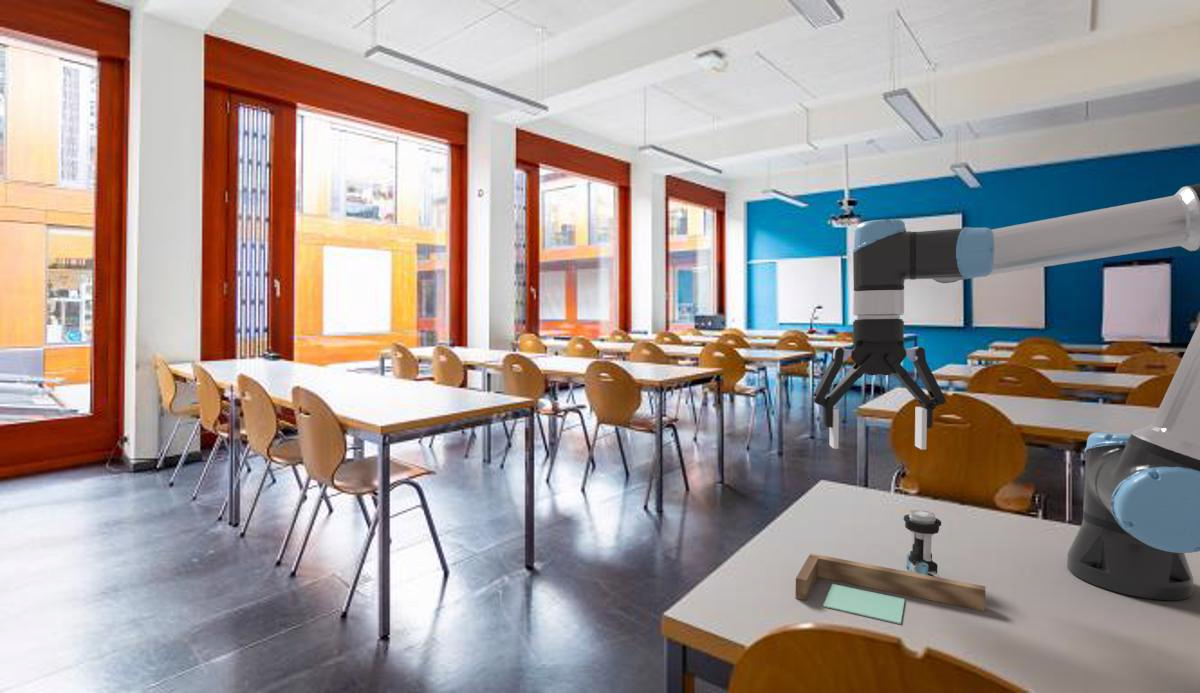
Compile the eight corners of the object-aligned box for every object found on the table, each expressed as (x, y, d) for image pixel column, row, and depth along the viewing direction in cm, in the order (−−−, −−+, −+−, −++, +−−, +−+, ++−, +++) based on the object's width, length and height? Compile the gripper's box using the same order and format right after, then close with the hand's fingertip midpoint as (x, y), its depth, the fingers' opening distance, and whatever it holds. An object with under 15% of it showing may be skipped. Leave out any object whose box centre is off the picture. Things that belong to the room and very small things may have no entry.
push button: (952, 584, 96) (955, 521, 95) (920, 586, 95) (923, 522, 95) (924, 567, 102) (927, 507, 102) (894, 568, 102) (896, 508, 101)
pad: (904, 600, 91) (904, 598, 91) (900, 624, 84) (900, 622, 84) (832, 585, 96) (832, 583, 96) (823, 606, 89) (823, 605, 89)
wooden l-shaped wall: (984, 606, 89) (984, 586, 89) (987, 641, 79) (988, 618, 79) (809, 571, 101) (810, 553, 100) (795, 598, 91) (795, 578, 91)
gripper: (949, 316, 103) (947, 443, 104) (794, 318, 106) (793, 441, 107) (970, 316, 96) (968, 453, 97) (803, 318, 98) (803, 451, 99)
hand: (876, 447), depth 102 cm, fingers open, 13 cm apart
